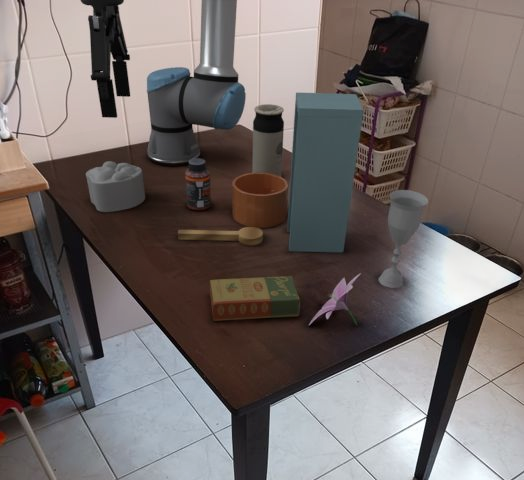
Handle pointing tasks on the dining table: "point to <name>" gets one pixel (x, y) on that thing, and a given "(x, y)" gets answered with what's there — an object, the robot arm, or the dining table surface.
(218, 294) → the carton
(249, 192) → the pot
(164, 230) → the dining table surface
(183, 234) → the tan disc-ended rod
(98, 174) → the lumpy-topped squat cylinder
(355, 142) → the teal bin
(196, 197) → the supplement bottle
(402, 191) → the chalice
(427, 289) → the dining table surface
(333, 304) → the lily
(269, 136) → the travel mug
